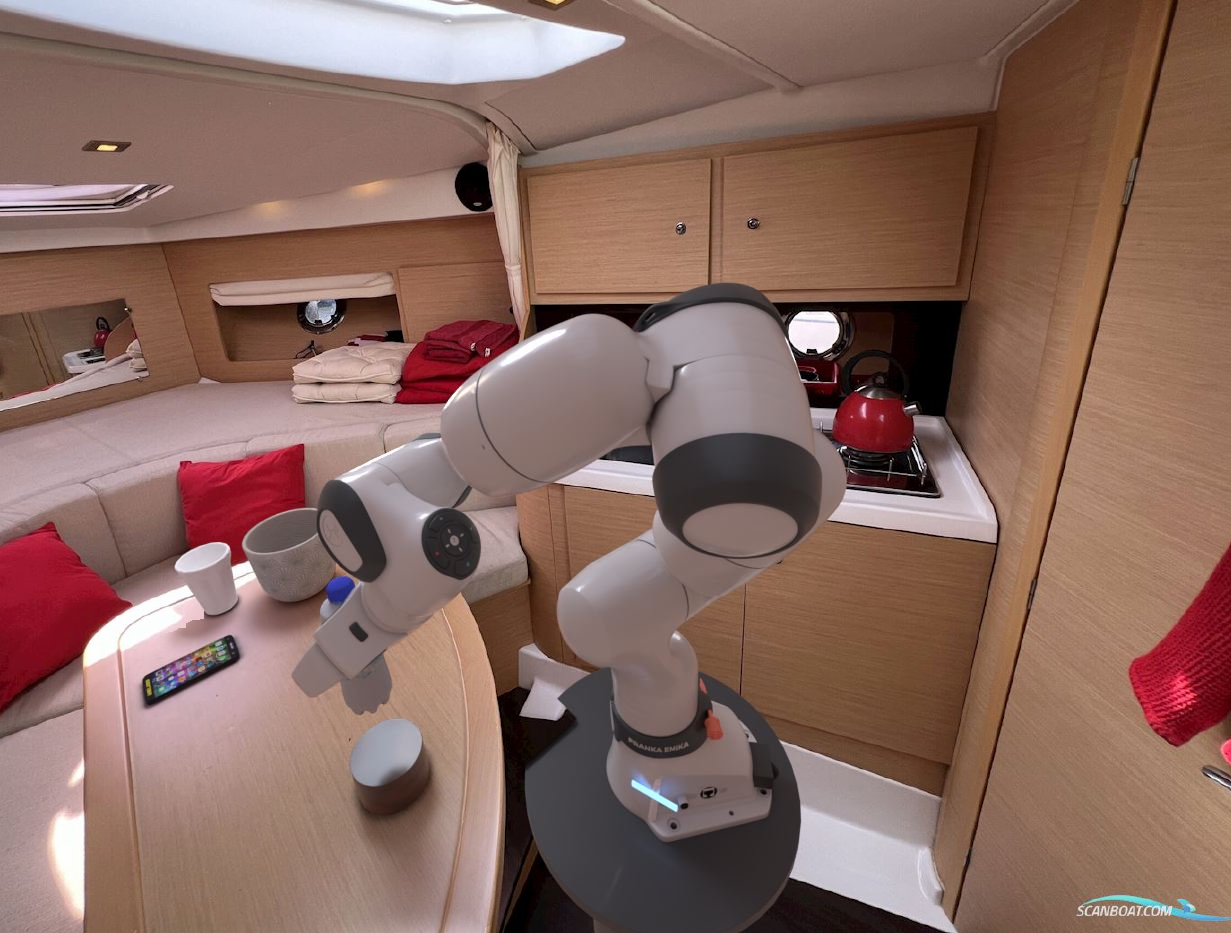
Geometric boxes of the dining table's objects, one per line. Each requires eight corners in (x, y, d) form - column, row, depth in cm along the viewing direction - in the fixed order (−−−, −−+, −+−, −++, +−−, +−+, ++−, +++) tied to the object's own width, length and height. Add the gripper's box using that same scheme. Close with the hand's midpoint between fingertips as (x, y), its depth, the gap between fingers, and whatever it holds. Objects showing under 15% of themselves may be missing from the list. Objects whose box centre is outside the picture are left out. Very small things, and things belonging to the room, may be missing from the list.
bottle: (342, 692, 76) (307, 576, 68) (391, 672, 78) (362, 557, 71) (349, 730, 70) (311, 607, 63) (401, 707, 73) (370, 586, 65)
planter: (359, 579, 121) (343, 522, 115) (285, 626, 109) (263, 565, 103) (321, 553, 131) (304, 499, 126) (249, 593, 120) (228, 536, 114)
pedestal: (436, 744, 83) (429, 716, 81) (419, 814, 74) (411, 785, 71) (373, 746, 83) (364, 718, 81) (348, 815, 74) (337, 787, 72)
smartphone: (240, 655, 102) (144, 704, 93) (241, 658, 102) (146, 707, 93) (231, 632, 107) (141, 676, 99) (233, 636, 108) (143, 680, 99)
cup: (257, 598, 118) (239, 549, 113) (210, 629, 110) (188, 578, 105) (232, 584, 123) (214, 537, 118) (186, 613, 115) (164, 563, 110)
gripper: (432, 530, 71) (392, 572, 79) (302, 641, 55) (268, 680, 63) (464, 565, 71) (421, 604, 79) (343, 688, 54) (304, 721, 62)
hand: (352, 639), depth 71 cm, fingers closed on bottle, 6 cm apart
